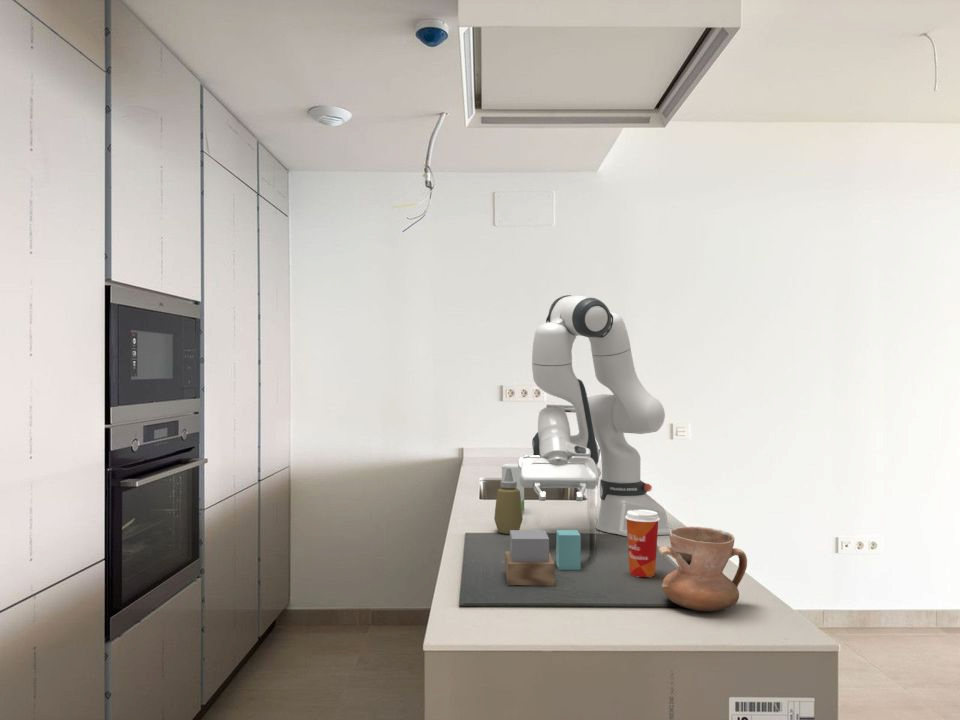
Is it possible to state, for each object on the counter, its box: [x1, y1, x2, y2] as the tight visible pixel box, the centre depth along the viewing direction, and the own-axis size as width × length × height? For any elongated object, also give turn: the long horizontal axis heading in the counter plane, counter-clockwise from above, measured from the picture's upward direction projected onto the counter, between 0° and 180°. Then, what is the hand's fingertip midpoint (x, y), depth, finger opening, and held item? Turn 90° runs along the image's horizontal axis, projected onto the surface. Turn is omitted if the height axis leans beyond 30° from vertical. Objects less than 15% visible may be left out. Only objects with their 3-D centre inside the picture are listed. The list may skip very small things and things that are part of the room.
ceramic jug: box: [658, 525, 748, 612], centre depth 136 cm, size 18×14×14 cm
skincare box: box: [501, 463, 525, 514], centre depth 222 cm, size 8×7×16 cm
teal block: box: [555, 529, 582, 571], centre depth 162 cm, size 5×5×8 cm
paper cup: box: [625, 510, 660, 578], centre depth 156 cm, size 8×8×14 cm
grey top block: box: [509, 529, 550, 562], centre depth 153 cm, size 8×8×5 cm
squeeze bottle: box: [494, 468, 523, 535], centre depth 196 cm, size 8×8×18 cm
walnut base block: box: [504, 550, 556, 587], centre depth 152 cm, size 10×10×5 cm
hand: (561, 499), depth 173 cm, fingers open, 8 cm apart
